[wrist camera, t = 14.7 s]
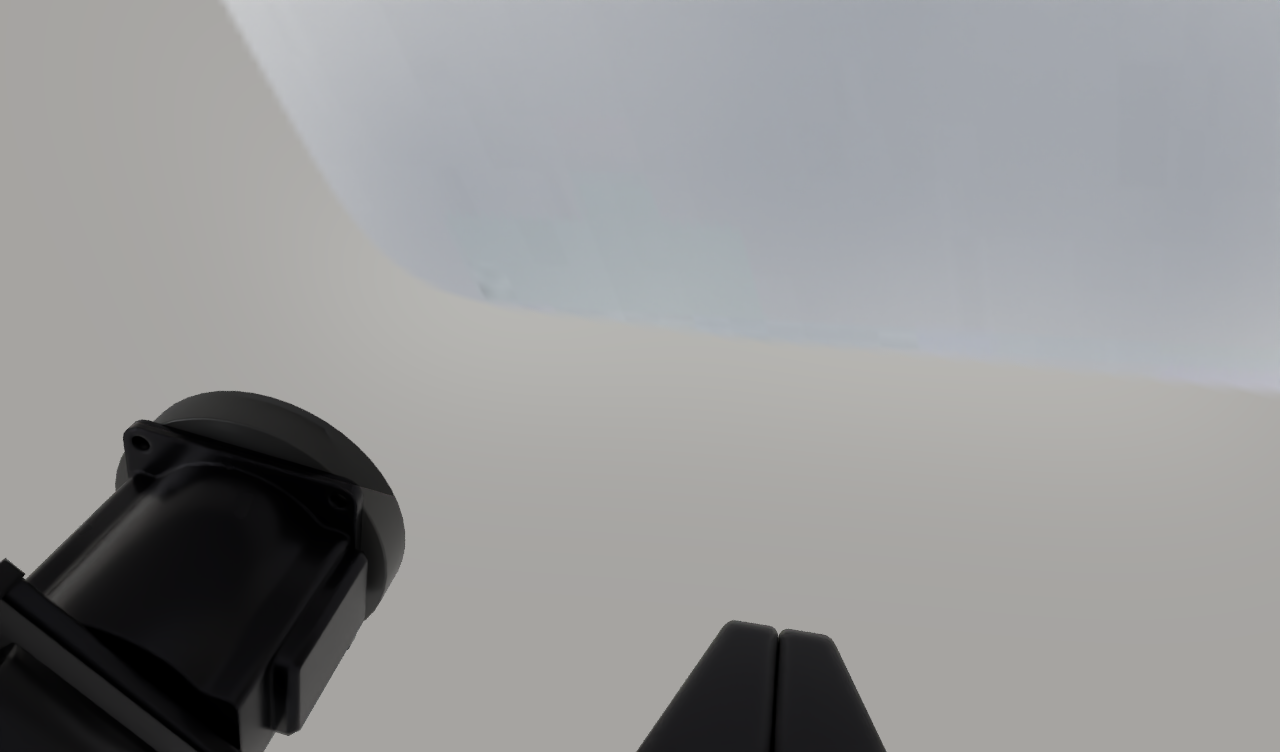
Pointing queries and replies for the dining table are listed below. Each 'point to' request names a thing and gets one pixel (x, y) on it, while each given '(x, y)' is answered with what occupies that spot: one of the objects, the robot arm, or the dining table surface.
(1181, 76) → the dining table surface
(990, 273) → the dining table surface
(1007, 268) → the dining table surface
